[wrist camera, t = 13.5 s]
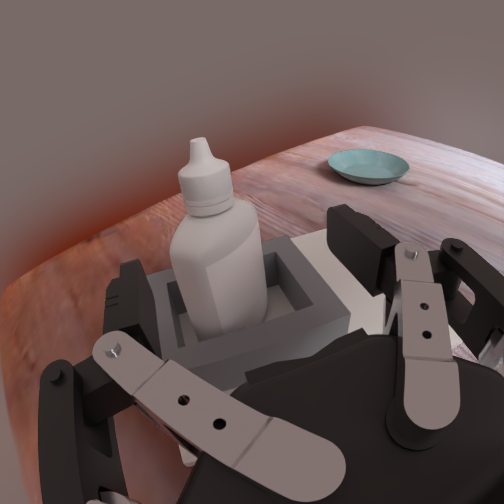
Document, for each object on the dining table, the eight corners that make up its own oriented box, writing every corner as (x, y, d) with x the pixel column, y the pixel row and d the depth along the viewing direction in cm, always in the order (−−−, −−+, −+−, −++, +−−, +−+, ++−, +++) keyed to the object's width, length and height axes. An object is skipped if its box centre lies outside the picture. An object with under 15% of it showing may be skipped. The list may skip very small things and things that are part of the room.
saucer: (382, 202, 33) (384, 184, 32) (310, 176, 41) (310, 161, 40) (420, 177, 39) (421, 163, 37) (357, 157, 47) (357, 144, 45)
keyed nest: (357, 226, 29) (359, 191, 27) (472, 334, 16) (493, 295, 14) (154, 285, 25) (140, 249, 23) (188, 467, 13) (162, 446, 10)
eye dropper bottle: (290, 324, 19) (277, 131, 12) (213, 367, 17) (150, 167, 10) (254, 289, 22) (229, 122, 16) (185, 324, 20) (129, 151, 13)
